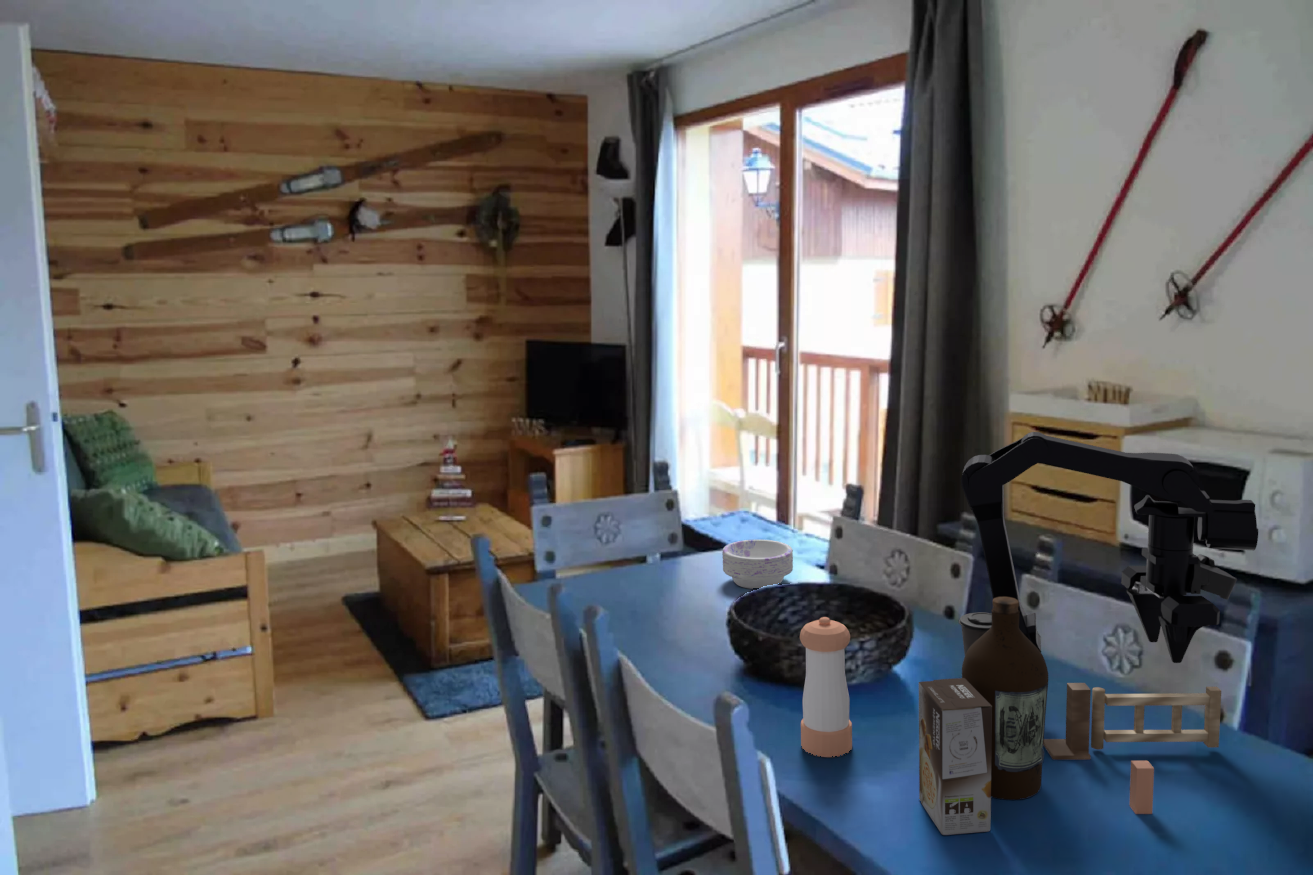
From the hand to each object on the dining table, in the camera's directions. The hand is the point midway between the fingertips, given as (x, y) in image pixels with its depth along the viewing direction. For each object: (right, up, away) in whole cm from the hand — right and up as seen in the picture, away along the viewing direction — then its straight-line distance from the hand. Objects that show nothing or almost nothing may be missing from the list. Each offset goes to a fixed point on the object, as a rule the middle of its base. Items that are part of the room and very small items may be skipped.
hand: (1164, 652), depth 148 cm
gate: (-4, -12, -4) cm, 13 cm away
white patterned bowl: (-50, -1, +79) cm, 93 cm away
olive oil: (-27, -15, -11) cm, 33 cm away
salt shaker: (-48, -14, +1) cm, 50 cm away
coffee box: (-35, -17, -18) cm, 43 cm away
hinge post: (-15, -13, -3) cm, 20 cm away
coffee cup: (-18, -9, +25) cm, 32 cm away
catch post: (-12, -16, -19) cm, 27 cm away
